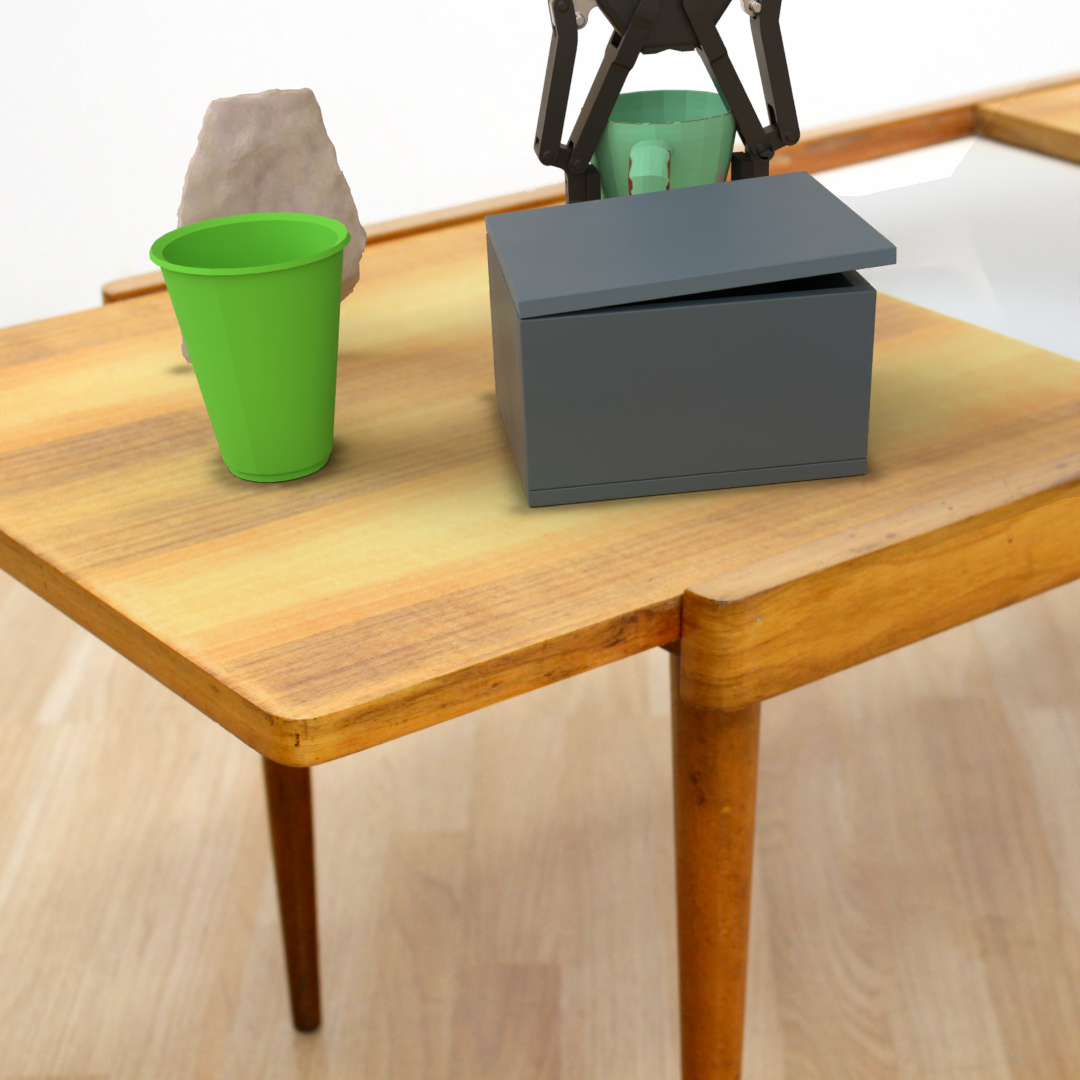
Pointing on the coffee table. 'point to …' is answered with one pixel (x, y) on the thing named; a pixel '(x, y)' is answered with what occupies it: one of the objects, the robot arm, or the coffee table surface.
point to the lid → (680, 243)
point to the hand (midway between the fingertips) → (667, 264)
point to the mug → (664, 142)
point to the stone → (270, 168)
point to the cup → (261, 333)
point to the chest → (686, 388)
